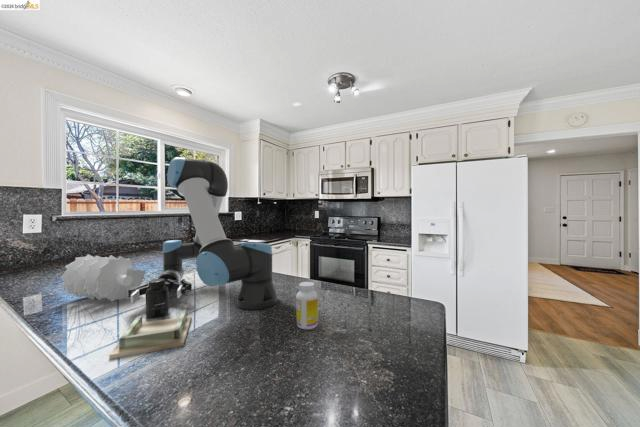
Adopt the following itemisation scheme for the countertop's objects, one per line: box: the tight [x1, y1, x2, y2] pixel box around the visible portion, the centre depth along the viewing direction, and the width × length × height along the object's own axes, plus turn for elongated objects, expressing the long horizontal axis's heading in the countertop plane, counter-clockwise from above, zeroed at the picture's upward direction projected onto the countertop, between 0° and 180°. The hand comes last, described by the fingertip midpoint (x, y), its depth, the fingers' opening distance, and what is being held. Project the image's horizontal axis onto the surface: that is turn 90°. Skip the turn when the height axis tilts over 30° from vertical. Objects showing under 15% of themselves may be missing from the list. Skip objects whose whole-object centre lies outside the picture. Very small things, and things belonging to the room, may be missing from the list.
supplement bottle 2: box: [295, 281, 319, 330], centre depth 79 cm, size 7×7×13 cm
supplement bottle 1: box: [144, 278, 170, 319], centre depth 88 cm, size 7×7×12 cm
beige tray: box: [108, 309, 192, 360], centre depth 73 cm, size 18×16×4 cm
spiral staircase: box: [60, 253, 146, 302], centre depth 105 cm, size 18×18×25 cm
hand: (155, 296), depth 87 cm, fingers open, 13 cm apart
